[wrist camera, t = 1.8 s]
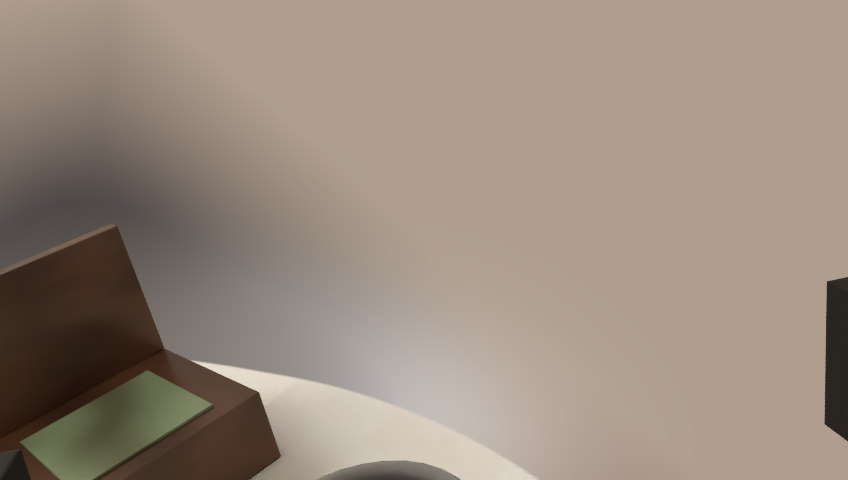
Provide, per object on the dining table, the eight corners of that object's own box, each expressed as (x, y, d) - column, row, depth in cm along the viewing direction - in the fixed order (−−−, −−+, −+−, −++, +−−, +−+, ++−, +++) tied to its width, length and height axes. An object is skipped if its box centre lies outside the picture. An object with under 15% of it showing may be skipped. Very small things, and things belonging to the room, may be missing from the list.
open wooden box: (178, 399, 60) (110, 223, 55) (281, 456, 50) (209, 248, 45) (-5, 510, 51) (-108, 314, 46) (75, 604, 42) (-43, 369, 36)
